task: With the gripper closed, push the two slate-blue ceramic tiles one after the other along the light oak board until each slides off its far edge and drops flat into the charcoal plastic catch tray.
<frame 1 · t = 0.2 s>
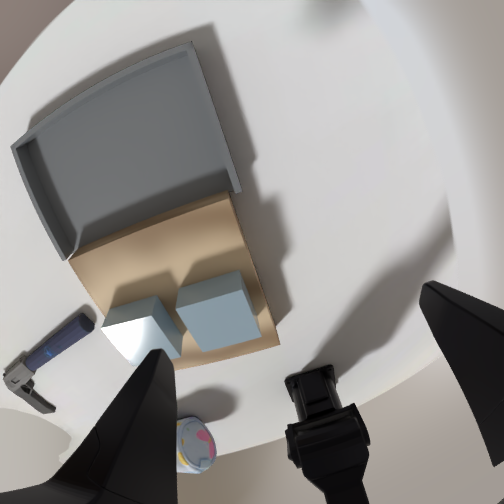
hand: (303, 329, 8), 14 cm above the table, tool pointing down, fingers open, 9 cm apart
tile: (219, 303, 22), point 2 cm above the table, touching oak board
oak board: (181, 291, 24), on the table
pencil case: (156, 427, 38), on the table
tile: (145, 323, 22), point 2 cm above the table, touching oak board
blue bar: (55, 374, 30), on the table
catch tray: (116, 155, 18), on the table
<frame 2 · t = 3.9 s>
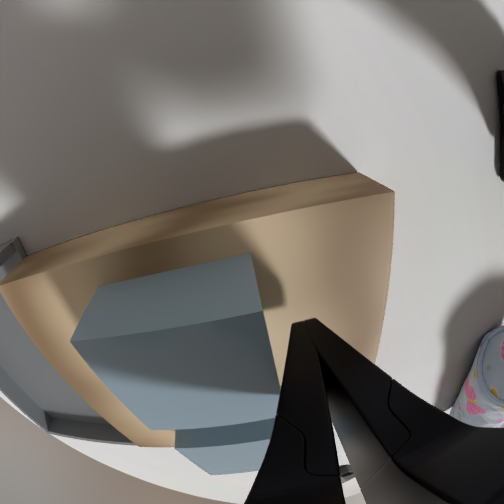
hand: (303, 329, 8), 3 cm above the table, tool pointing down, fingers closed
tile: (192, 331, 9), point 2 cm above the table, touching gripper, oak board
oak board: (210, 346, 13), on the table
pencil case: (472, 372, 22), on the table
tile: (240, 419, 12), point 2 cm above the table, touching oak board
catch tray: (34, 361, 13), on the table
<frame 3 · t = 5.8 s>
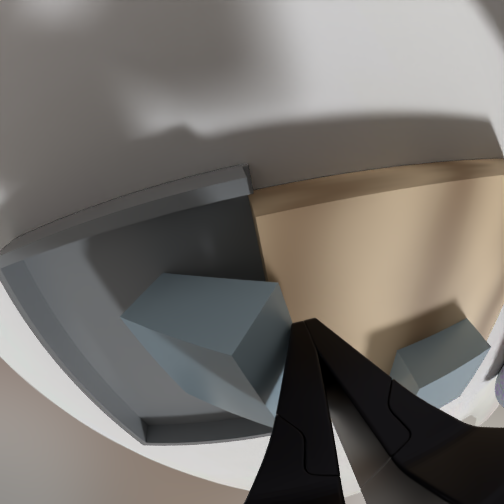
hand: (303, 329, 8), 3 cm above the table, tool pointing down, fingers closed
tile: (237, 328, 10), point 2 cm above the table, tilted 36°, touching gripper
oak board: (409, 293, 13), on the table
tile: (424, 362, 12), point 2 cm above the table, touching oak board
catch tray: (168, 351, 13), on the table
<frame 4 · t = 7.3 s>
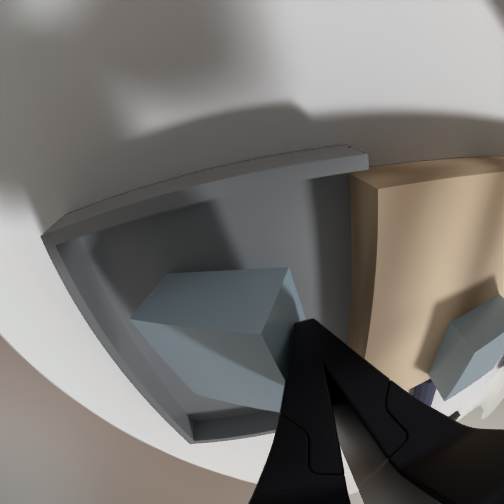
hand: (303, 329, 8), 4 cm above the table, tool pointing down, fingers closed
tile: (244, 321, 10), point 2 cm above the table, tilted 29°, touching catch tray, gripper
oak board: (452, 273, 13), on the table
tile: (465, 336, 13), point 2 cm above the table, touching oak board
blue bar: (437, 404, 26), on the table
catch tray: (239, 337, 13), on the table
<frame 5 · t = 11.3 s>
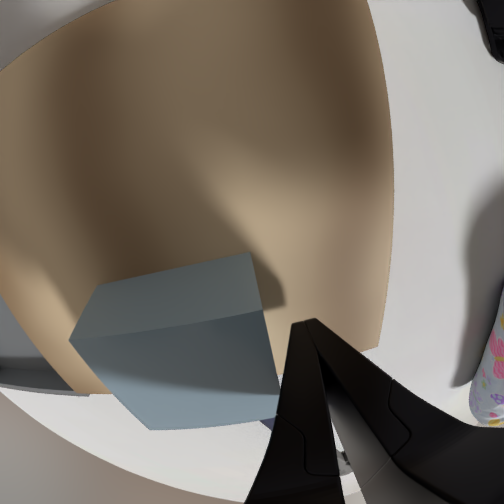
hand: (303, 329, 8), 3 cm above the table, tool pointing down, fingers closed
oak board: (158, 212, 9), on the table
pencil case: (493, 333, 19), on the table
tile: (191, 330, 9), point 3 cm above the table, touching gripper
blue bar: (351, 426, 22), on the table
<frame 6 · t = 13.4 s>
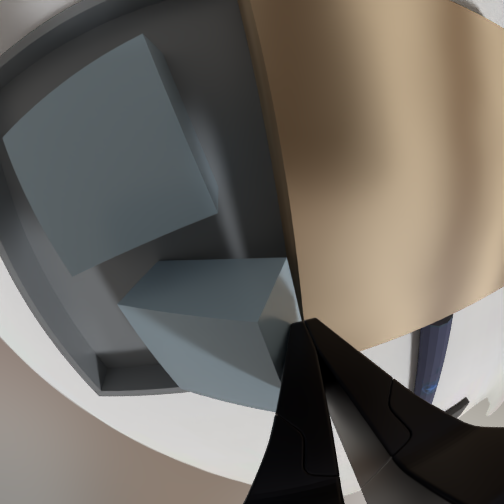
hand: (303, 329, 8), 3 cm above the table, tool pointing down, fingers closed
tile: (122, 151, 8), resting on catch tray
oak board: (436, 161, 10), on the table
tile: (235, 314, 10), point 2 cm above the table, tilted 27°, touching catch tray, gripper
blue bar: (445, 383, 22), on the table
catch tray: (128, 220, 9), on the table
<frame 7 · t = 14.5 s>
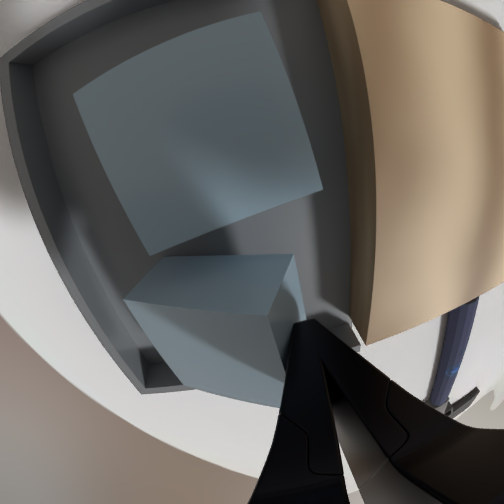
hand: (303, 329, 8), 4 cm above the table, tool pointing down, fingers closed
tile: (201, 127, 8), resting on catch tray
oak board: (467, 158, 10), on the table
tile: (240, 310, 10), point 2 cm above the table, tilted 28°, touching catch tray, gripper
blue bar: (461, 370, 22), on the table
catch tray: (197, 201, 10), on the table
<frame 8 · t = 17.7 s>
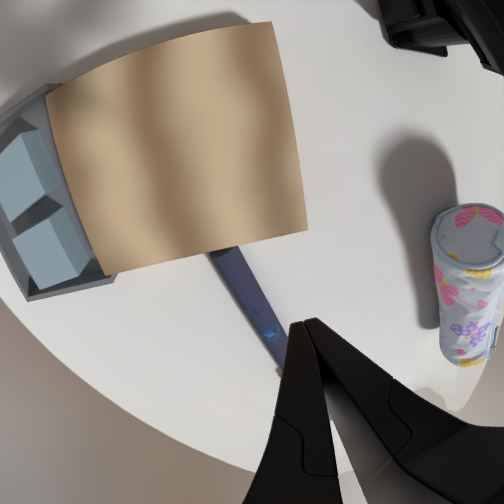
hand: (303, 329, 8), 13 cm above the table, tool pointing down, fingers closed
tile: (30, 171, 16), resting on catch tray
oak board: (175, 147, 17), on the table
pencil case: (448, 274, 26), on the table
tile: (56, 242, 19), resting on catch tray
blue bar: (326, 348, 29), on the table
catch tray: (36, 201, 17), on the table
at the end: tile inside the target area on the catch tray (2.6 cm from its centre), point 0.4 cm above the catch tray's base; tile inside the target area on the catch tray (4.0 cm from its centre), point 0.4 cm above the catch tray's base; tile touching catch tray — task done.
